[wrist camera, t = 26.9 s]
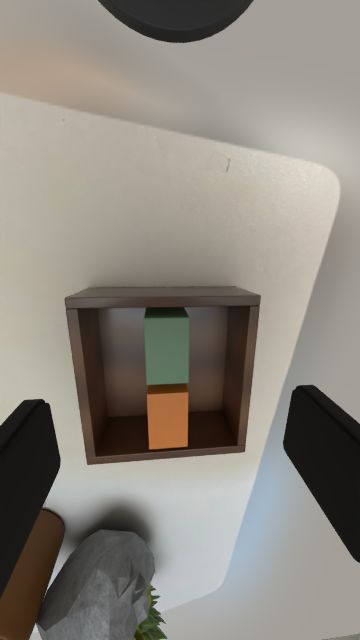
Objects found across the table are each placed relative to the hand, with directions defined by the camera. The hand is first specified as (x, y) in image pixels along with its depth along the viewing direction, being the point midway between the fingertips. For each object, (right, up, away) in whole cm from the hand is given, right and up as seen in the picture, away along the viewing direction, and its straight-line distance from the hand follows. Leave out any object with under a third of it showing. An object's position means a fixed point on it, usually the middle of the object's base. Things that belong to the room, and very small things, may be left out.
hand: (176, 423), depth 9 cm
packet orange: (-1, -3, +15) cm, 15 cm away
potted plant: (-8, -26, +21) cm, 34 cm away
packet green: (-1, +3, +13) cm, 14 cm away
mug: (-19, -24, +20) cm, 36 cm away
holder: (-1, 0, +15) cm, 15 cm away
